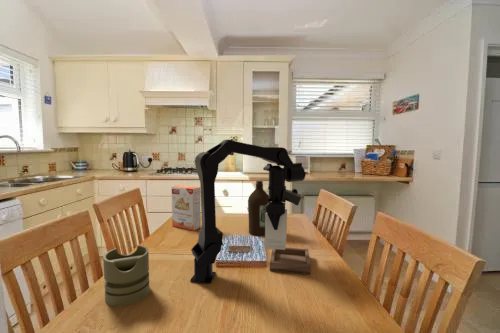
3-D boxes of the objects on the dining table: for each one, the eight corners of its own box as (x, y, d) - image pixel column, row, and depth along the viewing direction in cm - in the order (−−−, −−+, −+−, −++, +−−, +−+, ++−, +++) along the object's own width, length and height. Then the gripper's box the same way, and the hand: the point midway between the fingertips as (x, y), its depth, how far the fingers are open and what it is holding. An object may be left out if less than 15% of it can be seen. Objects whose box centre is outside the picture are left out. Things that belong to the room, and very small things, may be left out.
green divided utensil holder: (149, 257, 69) (100, 265, 64) (150, 300, 70) (102, 311, 65) (147, 242, 79) (105, 248, 74) (148, 280, 80) (107, 287, 76)
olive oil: (243, 232, 123) (243, 180, 121) (258, 227, 130) (259, 178, 128) (258, 238, 116) (259, 183, 113) (274, 233, 123) (275, 181, 121)
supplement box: (285, 250, 88) (286, 214, 87) (264, 248, 90) (264, 213, 88) (286, 242, 95) (287, 208, 94) (267, 240, 97) (267, 207, 96)
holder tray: (310, 274, 84) (310, 265, 84) (269, 270, 86) (269, 262, 86) (308, 256, 98) (308, 249, 97) (272, 254, 100) (272, 246, 99)
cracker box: (171, 226, 130) (170, 185, 128) (179, 223, 136) (179, 184, 134) (193, 231, 124) (192, 188, 122) (201, 227, 129) (200, 186, 127)
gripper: (301, 188, 80) (300, 237, 81) (299, 179, 98) (298, 219, 100) (265, 187, 82) (265, 235, 83) (270, 178, 100) (269, 218, 101)
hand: (276, 226), depth 92 cm, fingers closed on supplement box, 7 cm apart
